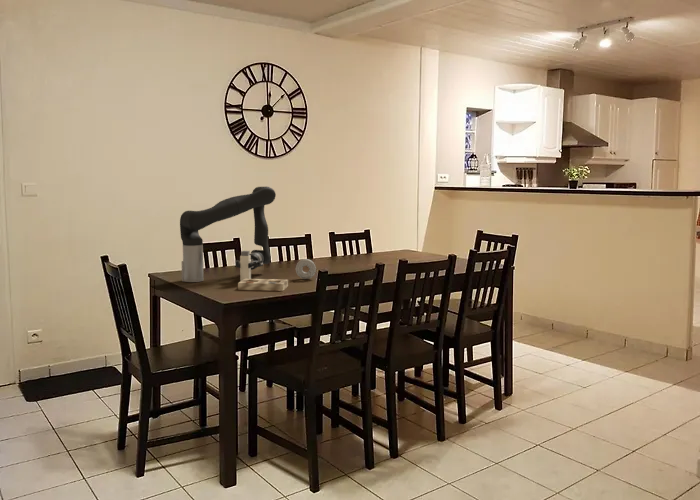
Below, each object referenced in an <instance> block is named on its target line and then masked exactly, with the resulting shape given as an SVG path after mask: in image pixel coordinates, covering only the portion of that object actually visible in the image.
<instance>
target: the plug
mask: <svg viewBox="0 0 700 500" xmlns="http://www.w3.org/2000/svg"><path fill="white" fill-rule="evenodd" d="M250 254H251V251H250V250H241V251H240V256H239V262H240V268H239V270H240V271H239V273H240V275H239V276H240V277H239V278H240V279H239V280H240V281H242V280H244V279H252V270H251V268H248V263H251V255H250ZM240 281H239V282H240Z"/></svg>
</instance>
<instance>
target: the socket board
mask: <svg viewBox="0 0 700 500" xmlns="http://www.w3.org/2000/svg"><path fill="white" fill-rule="evenodd" d="M288 287H289V279H282V278H281V279H279V278H278V279H276V278H273V279H272V278H251V279H244V280H242V281H239V282H237V290H238V291H279V292H281V291H284V290H286V289H287V288H288Z"/></svg>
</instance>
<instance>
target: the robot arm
mask: <svg viewBox="0 0 700 500" xmlns="http://www.w3.org/2000/svg"><path fill="white" fill-rule="evenodd" d="M275 199H276V191H275V189H273V188H272V187H270V186H257V187H255V188H254V189H252V192H251V193H248V194H241V195H237V196H236V195H235V196H231V197H228V198H226V199H222V200H220V201H218V202H217V203H216V204H214V206H211V207H209V208H206V209H202V210H185V211H184V212H183V213H182V214H181V215H180V218H179V228H180V229H179V230H180V231H179V232H180V233H179V234H180V239H181V240H182V241H181V242H182V261H181V282H186V283H198V282H203V281H204V246H203V245H204V241H203V238H202V237H201V236H200V234H199V231H200V230H202V229H204V228H206V227H208V226H210V225H213V224H215V223H218V222H221V221H224V220H228V219H231V218H233V217H236V216H239V215H241V214H244V213H246V212H248V211H250V210H253V219H254V235H253V237H254V238H253V242H254V244H255V245H256V246H259V247H262V249H253V250H251V251H250V255H251V263H248V268H251V271H253V270H255V269H257V268H260V267H263V266H264V265H268V264H270V263H271V259H272V255H271V252H270V248H269V225H268V222H267V219H266V217H265V206H268V205H271V204H272V203H273V202H274V201H275ZM234 262H235V264H234V265H235V267H236V268H238V269H240V260H238V259H235V260H234Z"/></svg>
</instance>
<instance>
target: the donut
mask: <svg viewBox="0 0 700 500" xmlns="http://www.w3.org/2000/svg"><path fill="white" fill-rule="evenodd" d="M305 266H306V267H307V268H308V271H307V272H306V271H304V270H303V268H304V267H305ZM316 271H317V267H316V264H315V262H314V261H313V260H311V259H308V258H304V259H303V258H302V259H301V260H299V261H298V262H297V263H296V266H295V273H296V275H297V277H299V278H301V279H302V280H309V279H311V278H313V277H314V276H315V274H316Z"/></svg>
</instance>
